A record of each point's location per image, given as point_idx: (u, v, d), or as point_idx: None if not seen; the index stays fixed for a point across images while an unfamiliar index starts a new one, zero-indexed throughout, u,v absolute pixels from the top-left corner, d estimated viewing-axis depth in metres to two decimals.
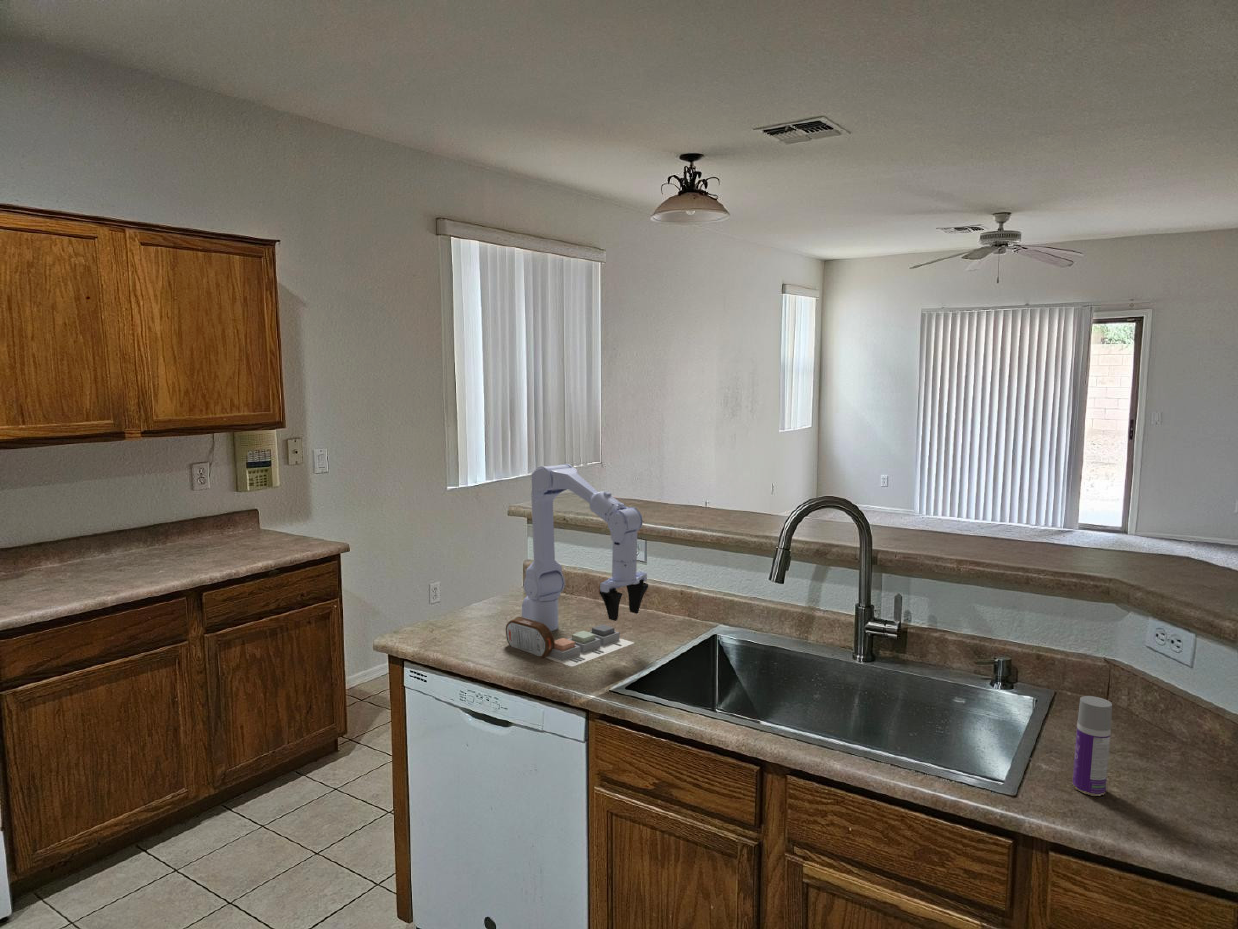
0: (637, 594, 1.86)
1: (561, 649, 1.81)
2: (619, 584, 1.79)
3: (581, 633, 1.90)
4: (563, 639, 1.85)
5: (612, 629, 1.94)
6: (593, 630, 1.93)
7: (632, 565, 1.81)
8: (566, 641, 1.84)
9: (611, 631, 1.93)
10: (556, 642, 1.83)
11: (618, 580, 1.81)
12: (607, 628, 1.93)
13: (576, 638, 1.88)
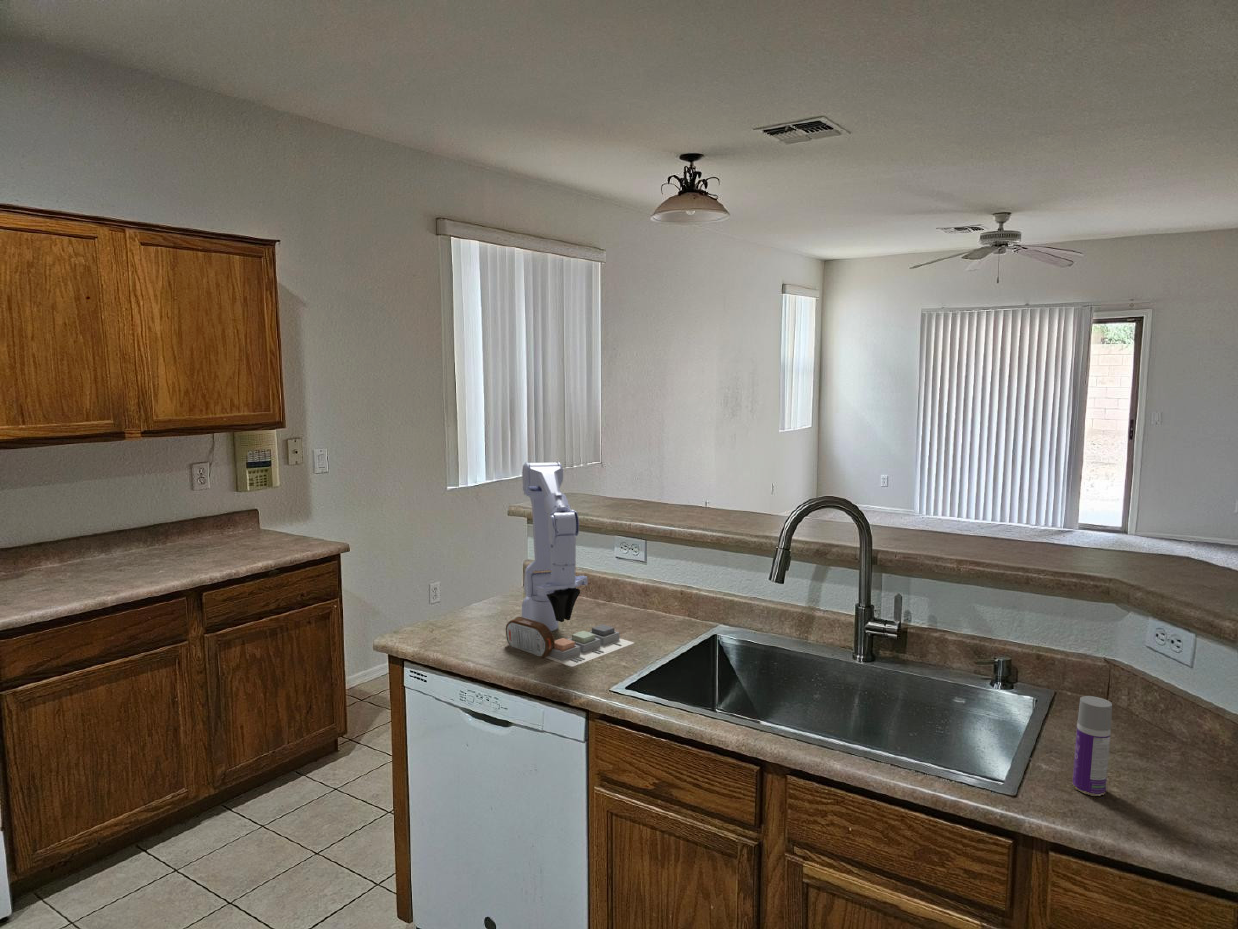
0: (569, 600, 1.82)
1: (561, 649, 1.81)
2: (556, 588, 1.78)
3: (581, 633, 1.90)
4: (563, 639, 1.85)
5: (612, 629, 1.94)
6: (593, 630, 1.93)
7: (570, 569, 1.79)
8: (566, 641, 1.84)
9: (611, 631, 1.93)
10: (556, 642, 1.83)
11: (556, 584, 1.79)
12: (607, 628, 1.93)
13: (576, 638, 1.88)
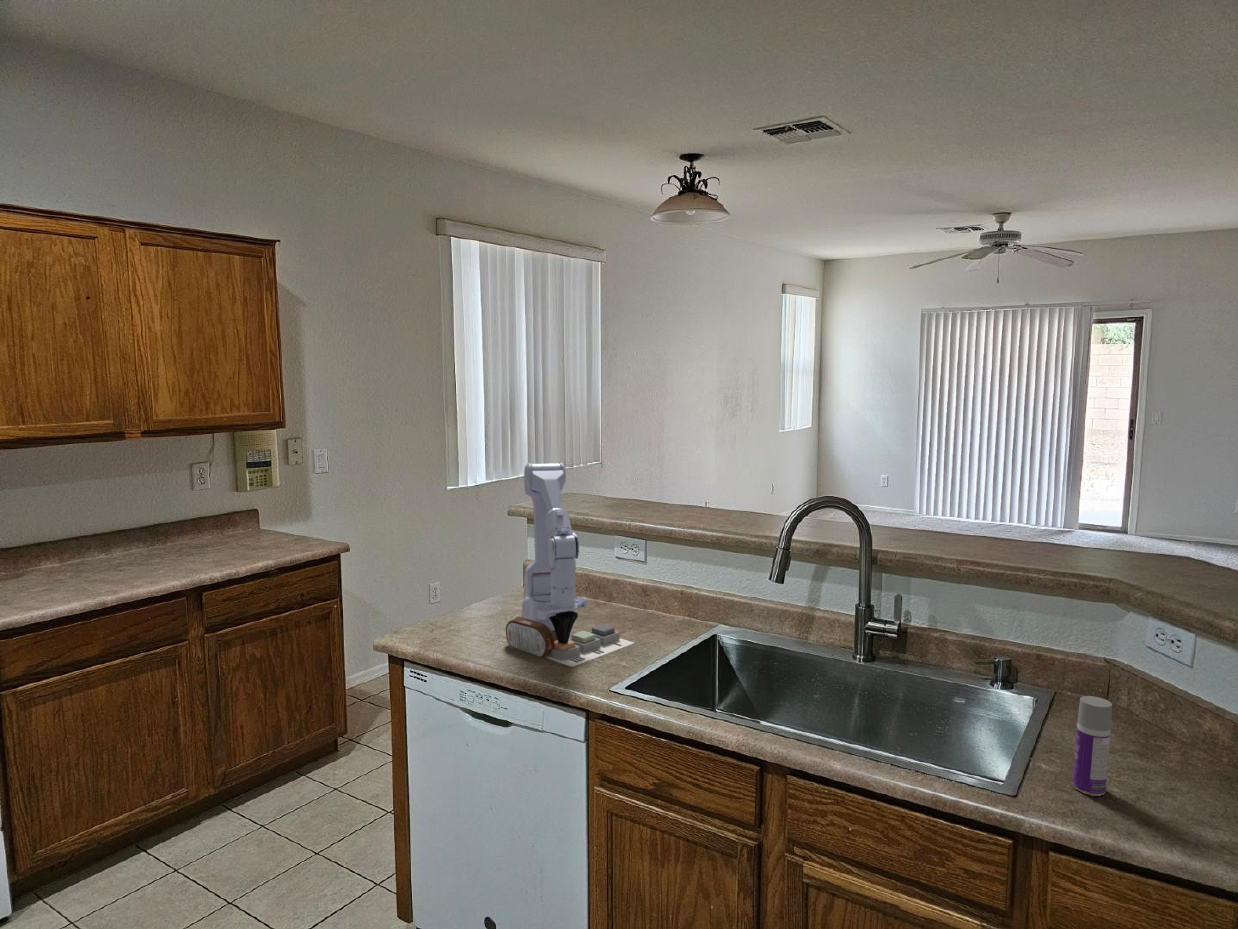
0: None
1: (561, 650, 1.81)
2: (556, 611, 1.78)
3: (581, 633, 1.90)
4: None
5: (612, 629, 1.94)
6: (593, 630, 1.93)
7: (570, 592, 1.80)
8: None
9: (611, 631, 1.93)
10: (556, 643, 1.83)
11: (556, 607, 1.80)
12: (607, 628, 1.93)
13: (576, 638, 1.88)
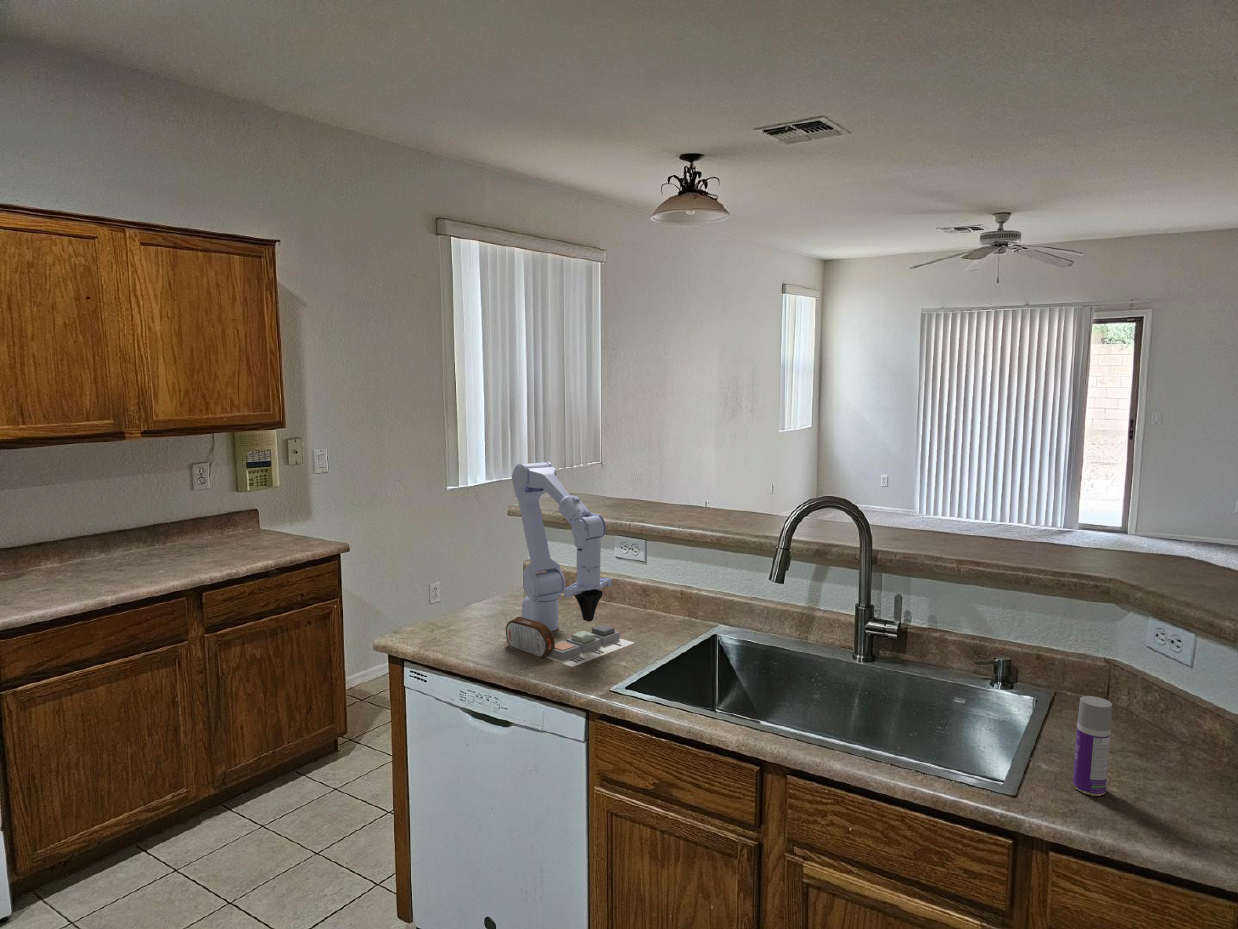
0: None
1: None
2: (582, 589, 1.85)
3: (581, 633, 1.90)
4: (563, 643, 1.85)
5: (612, 629, 1.94)
6: (593, 630, 1.93)
7: (595, 571, 1.86)
8: (566, 645, 1.84)
9: (611, 631, 1.93)
10: (556, 646, 1.83)
11: (582, 586, 1.86)
12: (607, 628, 1.93)
13: (576, 638, 1.88)
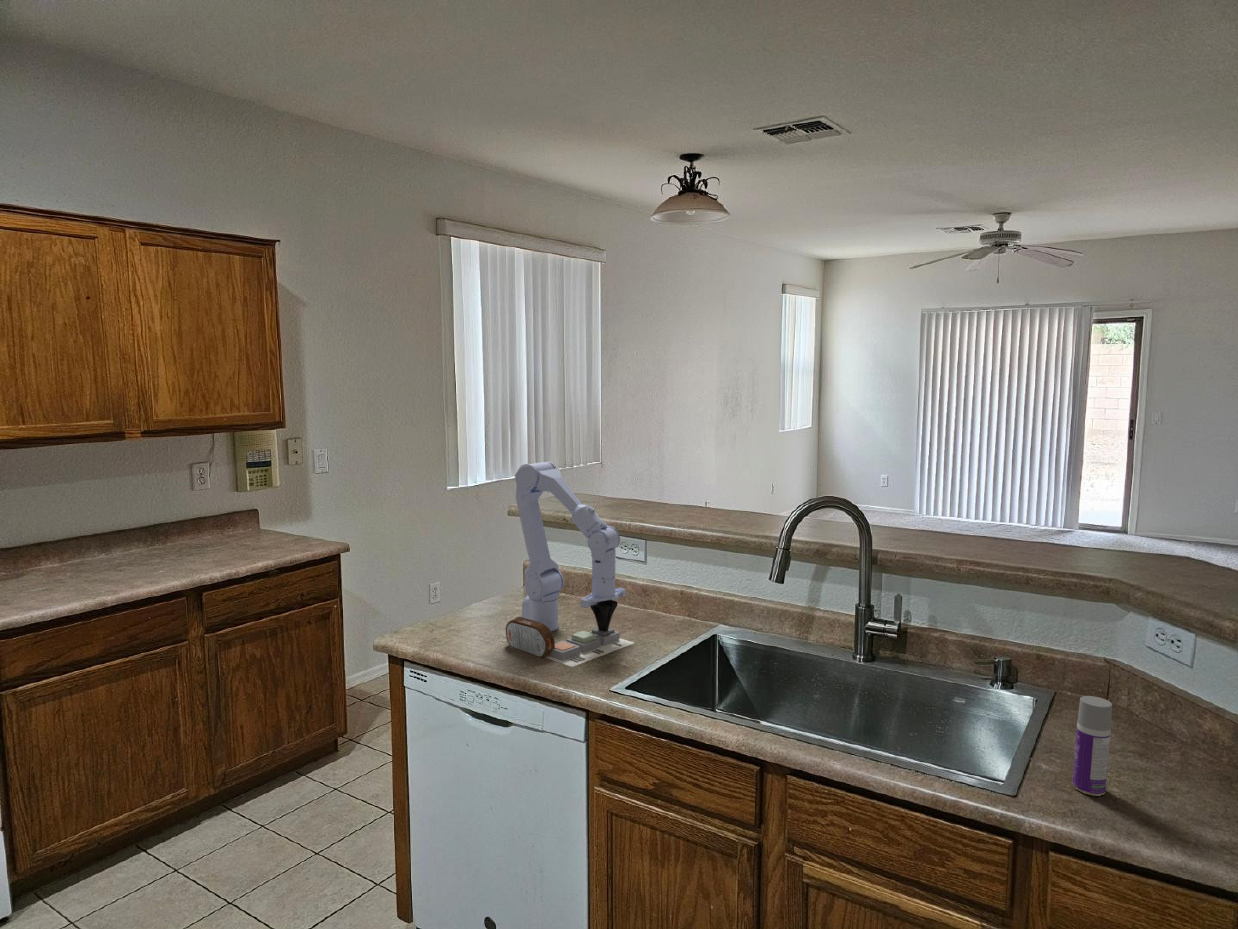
0: None
1: None
2: (598, 600, 1.89)
3: (581, 633, 1.90)
4: (563, 643, 1.85)
5: (612, 631, 1.94)
6: (593, 632, 1.94)
7: (611, 582, 1.91)
8: (566, 645, 1.84)
9: (611, 633, 1.93)
10: (556, 646, 1.83)
11: (598, 596, 1.90)
12: (607, 631, 1.93)
13: (576, 638, 1.88)
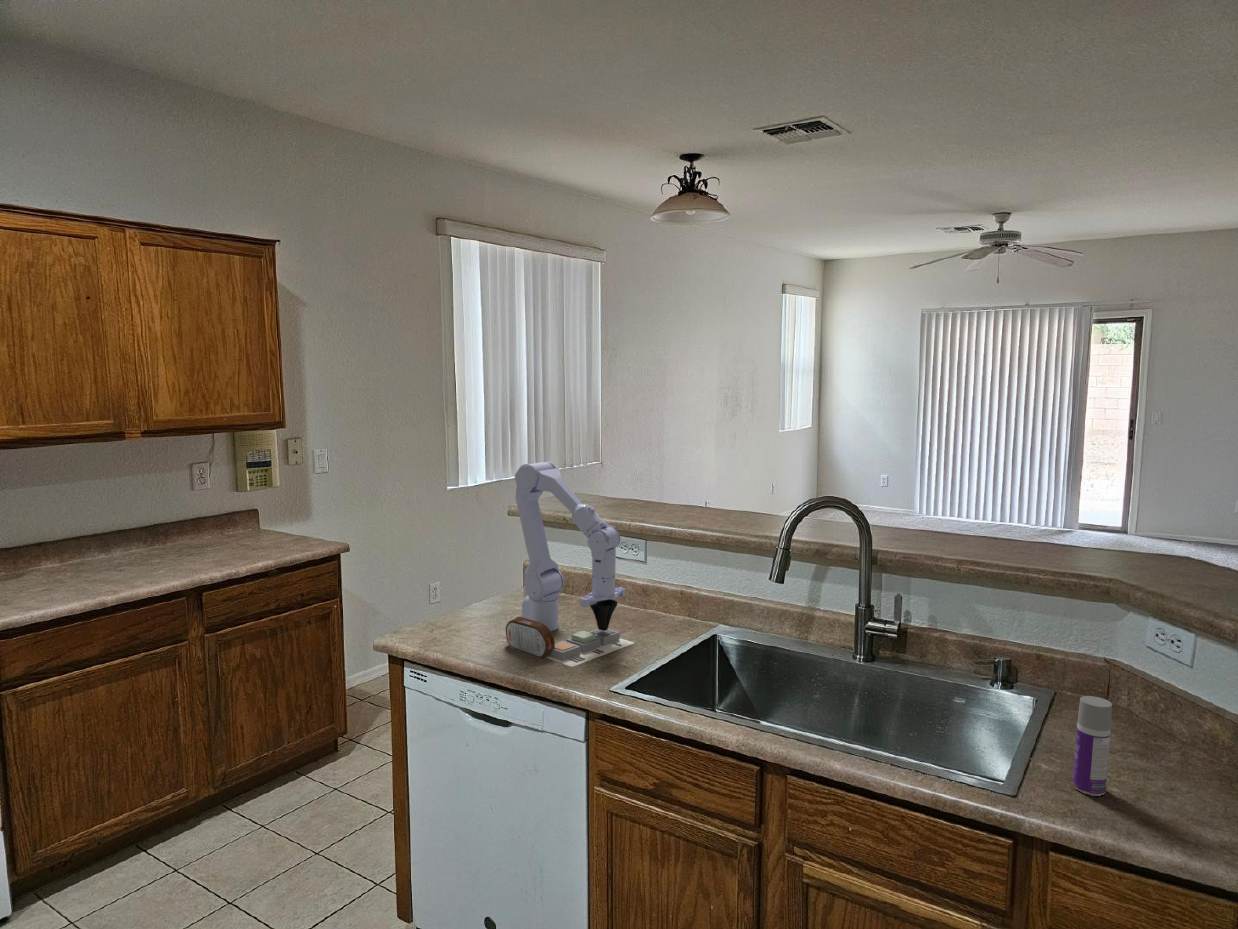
0: None
1: None
2: (598, 599, 1.89)
3: (581, 633, 1.90)
4: (563, 643, 1.85)
5: (612, 633, 1.94)
6: None
7: (610, 581, 1.91)
8: (566, 645, 1.84)
9: None
10: (556, 646, 1.83)
11: (598, 596, 1.90)
12: (607, 633, 1.93)
13: (576, 638, 1.88)
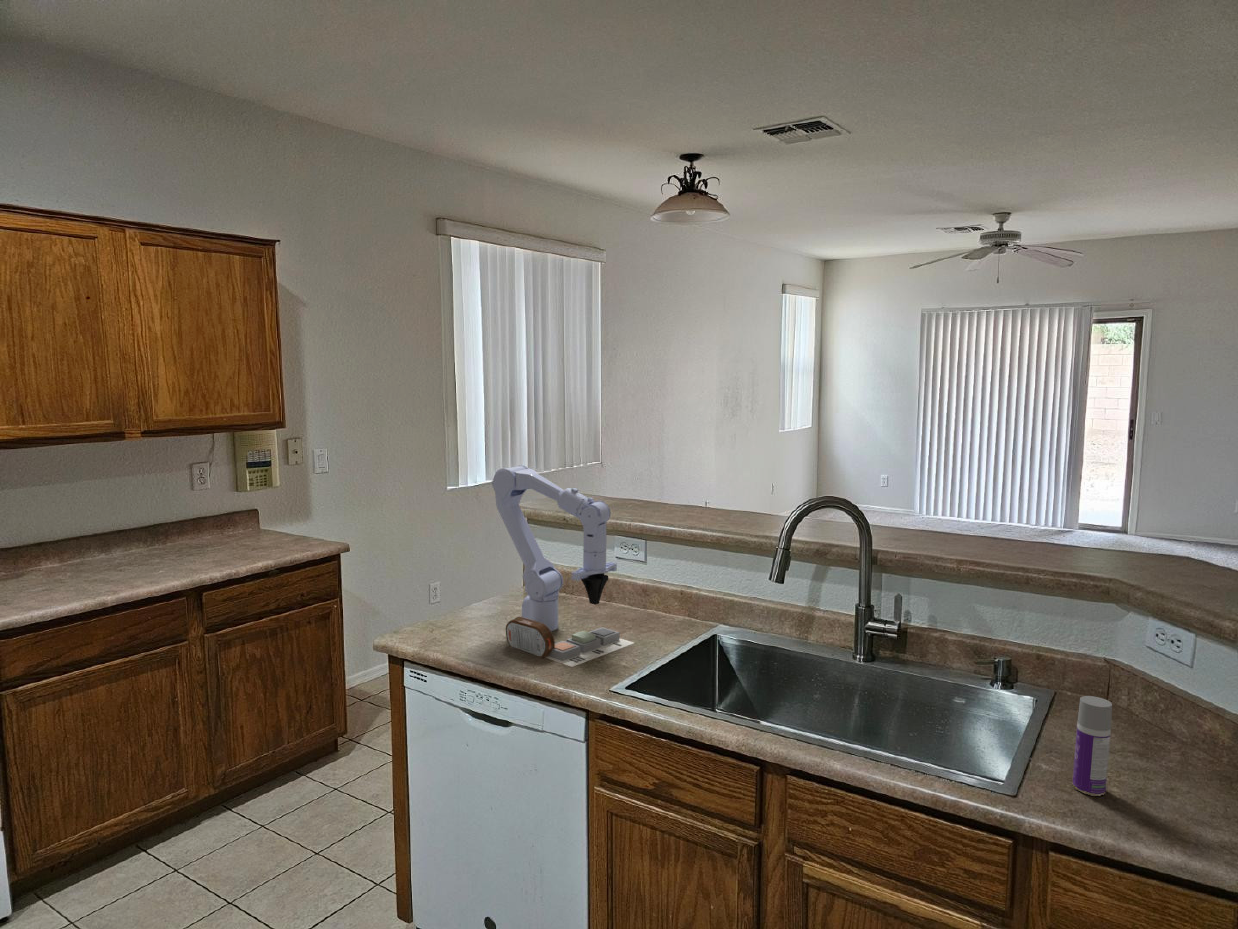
0: None
1: None
2: (589, 573, 1.92)
3: (581, 633, 1.90)
4: (563, 643, 1.85)
5: (612, 633, 1.94)
6: None
7: (601, 555, 1.93)
8: (566, 645, 1.84)
9: None
10: (556, 646, 1.83)
11: (589, 570, 1.93)
12: (607, 633, 1.93)
13: (576, 638, 1.88)
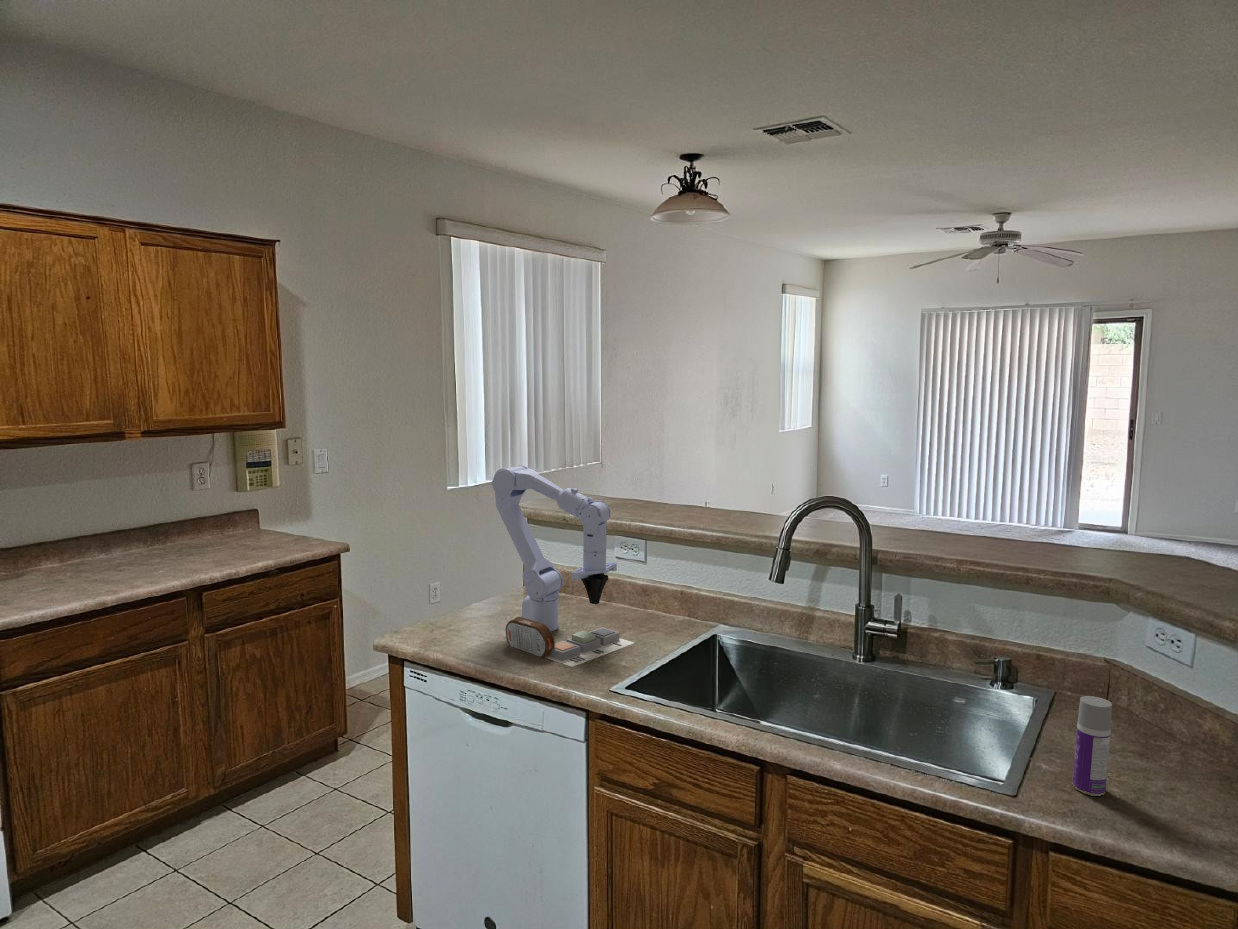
0: None
1: None
2: (589, 573, 1.92)
3: (581, 633, 1.90)
4: (563, 643, 1.85)
5: (612, 633, 1.94)
6: None
7: (601, 555, 1.93)
8: (566, 645, 1.84)
9: None
10: (556, 646, 1.83)
11: (589, 570, 1.93)
12: (607, 633, 1.93)
13: (576, 638, 1.88)
